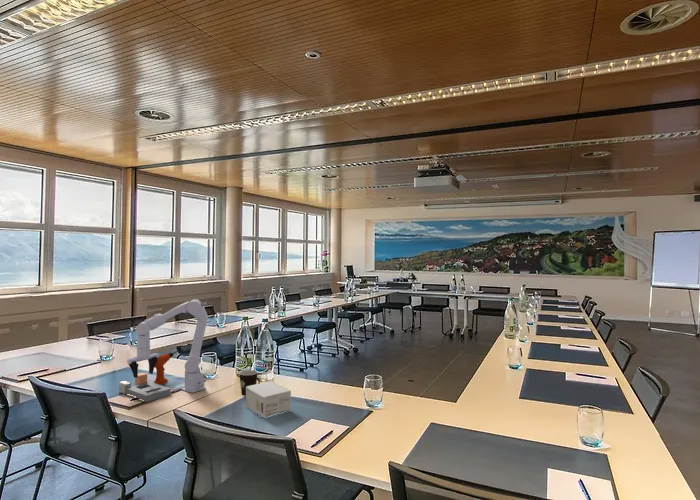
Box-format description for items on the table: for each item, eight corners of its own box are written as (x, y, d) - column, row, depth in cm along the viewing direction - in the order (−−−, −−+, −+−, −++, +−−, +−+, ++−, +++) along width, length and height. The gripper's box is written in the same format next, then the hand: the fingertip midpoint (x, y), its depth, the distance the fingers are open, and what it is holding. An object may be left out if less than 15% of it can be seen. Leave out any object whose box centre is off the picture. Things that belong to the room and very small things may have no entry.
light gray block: (130, 393, 198) (130, 383, 198) (125, 394, 196) (125, 384, 196) (124, 390, 202) (124, 380, 202) (119, 392, 199) (119, 382, 199)
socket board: (170, 394, 196) (170, 388, 196) (146, 402, 186) (146, 395, 186) (150, 387, 206) (150, 381, 206) (125, 394, 196) (125, 388, 196)
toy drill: (183, 372, 227) (180, 346, 225) (159, 387, 209) (157, 359, 207) (175, 371, 228) (173, 345, 226) (151, 386, 210) (149, 358, 208)
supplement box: (245, 407, 180) (245, 386, 181) (271, 400, 189) (271, 380, 189) (263, 419, 168) (263, 396, 168) (291, 411, 176) (291, 389, 176)
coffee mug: (237, 392, 200) (237, 371, 200) (255, 389, 204) (255, 369, 204) (242, 399, 190) (242, 378, 190) (261, 396, 194) (261, 375, 194)
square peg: (147, 387, 206) (147, 373, 206) (139, 390, 203) (139, 375, 203) (143, 386, 208) (143, 372, 208) (135, 388, 205) (135, 374, 205)
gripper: (153, 343, 207) (153, 370, 207) (123, 349, 195) (123, 377, 195) (161, 345, 203) (161, 372, 203) (131, 351, 191) (131, 380, 191)
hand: (143, 375), depth 199 cm, fingers open, 7 cm apart
